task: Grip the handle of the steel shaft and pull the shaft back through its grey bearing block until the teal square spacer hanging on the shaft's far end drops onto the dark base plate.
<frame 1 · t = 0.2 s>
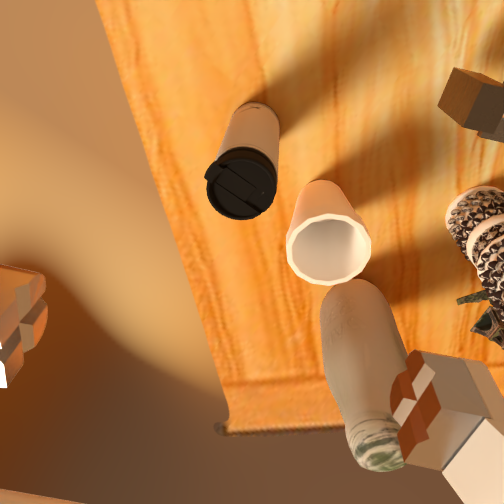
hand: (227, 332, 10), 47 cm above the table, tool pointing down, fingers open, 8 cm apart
decorative candle: (476, 213, 59), on the table
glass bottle: (351, 292, 67), on the table
foam cup: (320, 200, 60), on the table
eiffel tower figurine: (496, 320, 69), on the table
travel mug: (253, 125, 55), on the table
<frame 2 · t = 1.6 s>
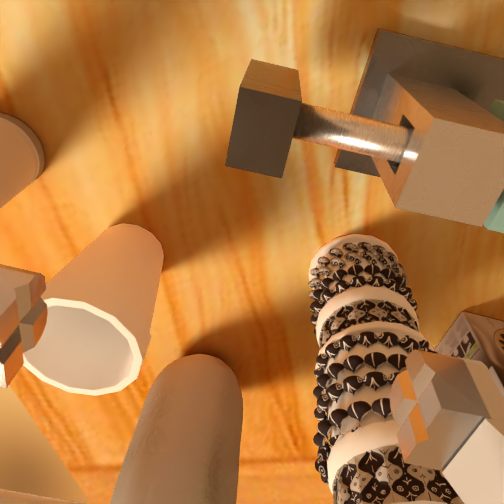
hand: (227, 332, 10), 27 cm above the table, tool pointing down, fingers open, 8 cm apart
decorative candle: (352, 270, 41), on the table
spacer: (489, 148, 29), point 5 cm above the table, touching shaft
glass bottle: (203, 367, 50), on the table
shaft: (399, 144, 25), point 9 cm above the table, slide at 0.0 cm, touching spacer
coffee box: (486, 340, 45), on the table
foam cup: (131, 251, 42), on the table
travel mug: (8, 147, 37), on the table
bearing stand: (442, 121, 33), on the table
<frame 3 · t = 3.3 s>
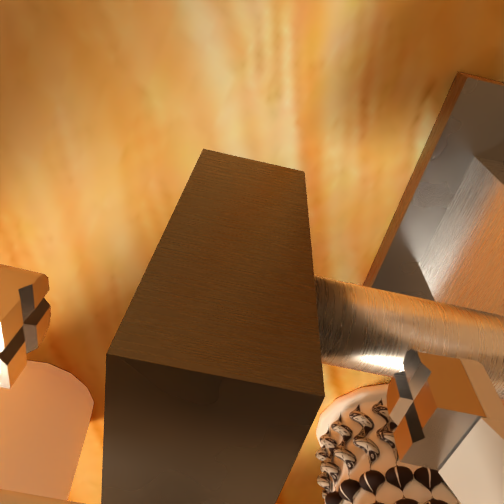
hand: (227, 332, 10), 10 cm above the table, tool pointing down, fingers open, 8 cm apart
decorative candle: (384, 427, 27), on the table
foam cup: (45, 393, 27), on the table
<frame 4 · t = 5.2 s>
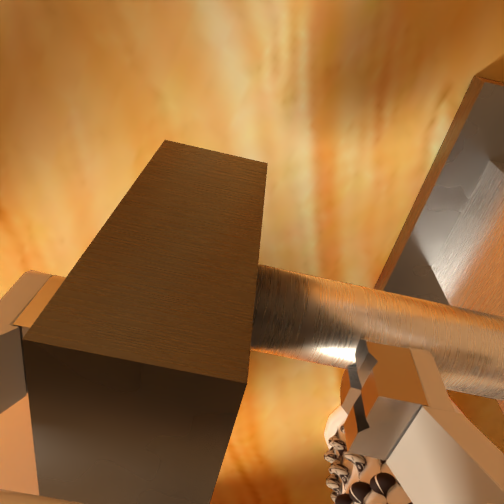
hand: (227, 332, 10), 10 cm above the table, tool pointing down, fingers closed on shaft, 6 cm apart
decorative candle: (391, 428, 27), on the table
shaft: (500, 357, 11), point 9 cm above the table, slide at 1.7 cm, touching gripper, spacer
foam cup: (52, 394, 27), on the table
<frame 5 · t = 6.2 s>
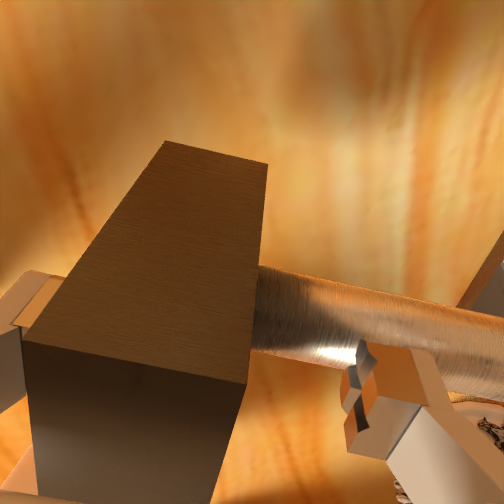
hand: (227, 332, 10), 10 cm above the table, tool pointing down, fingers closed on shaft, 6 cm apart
decorative candle: (455, 442, 27), on the table
shaft: (501, 359, 11), point 9 cm above the table, slide at 5.9 cm, touching gripper
foam cup: (118, 408, 27), on the table
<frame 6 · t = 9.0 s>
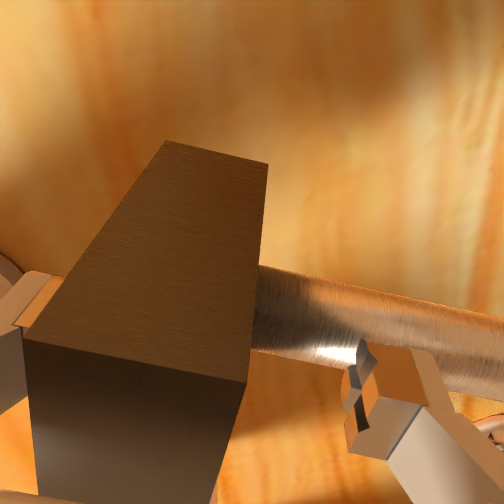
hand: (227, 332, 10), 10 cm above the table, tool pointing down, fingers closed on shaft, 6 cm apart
shaft: (501, 359, 11), point 9 cm above the table, slide at 9.0 cm, touching gripper
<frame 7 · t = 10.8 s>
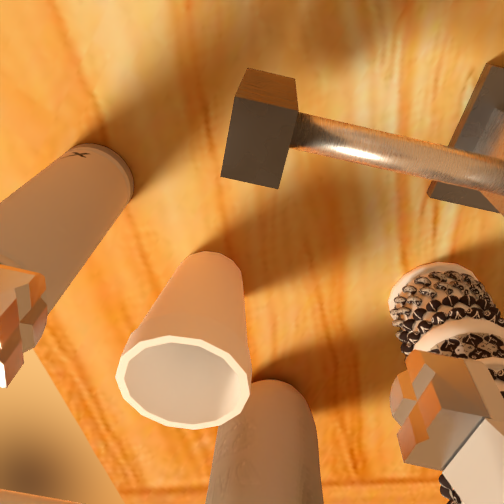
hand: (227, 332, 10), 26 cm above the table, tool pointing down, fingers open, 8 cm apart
decorative candle: (432, 297, 41), on the table
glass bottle: (269, 391, 49), on the table
shaft: (398, 153, 25), point 9 cm above the table, slide at 8.0 cm
foam cup: (210, 278, 42), on the table
travel mug: (97, 176, 37), on the table
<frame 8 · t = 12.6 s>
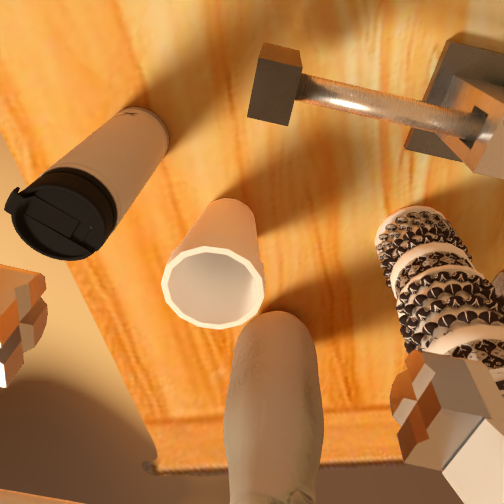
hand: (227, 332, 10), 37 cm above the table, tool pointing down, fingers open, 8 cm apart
decorative candle: (411, 237, 50), on the table
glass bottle: (276, 324, 59), on the table
shaft: (375, 104, 34), point 9 cm above the table, slide at 8.0 cm
foam cup: (228, 221, 51), on the table
travel mug: (139, 134, 46), on the table
bearing stand: (492, 112, 42), on the table
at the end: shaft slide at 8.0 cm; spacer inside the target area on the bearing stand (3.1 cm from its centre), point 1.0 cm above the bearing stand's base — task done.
